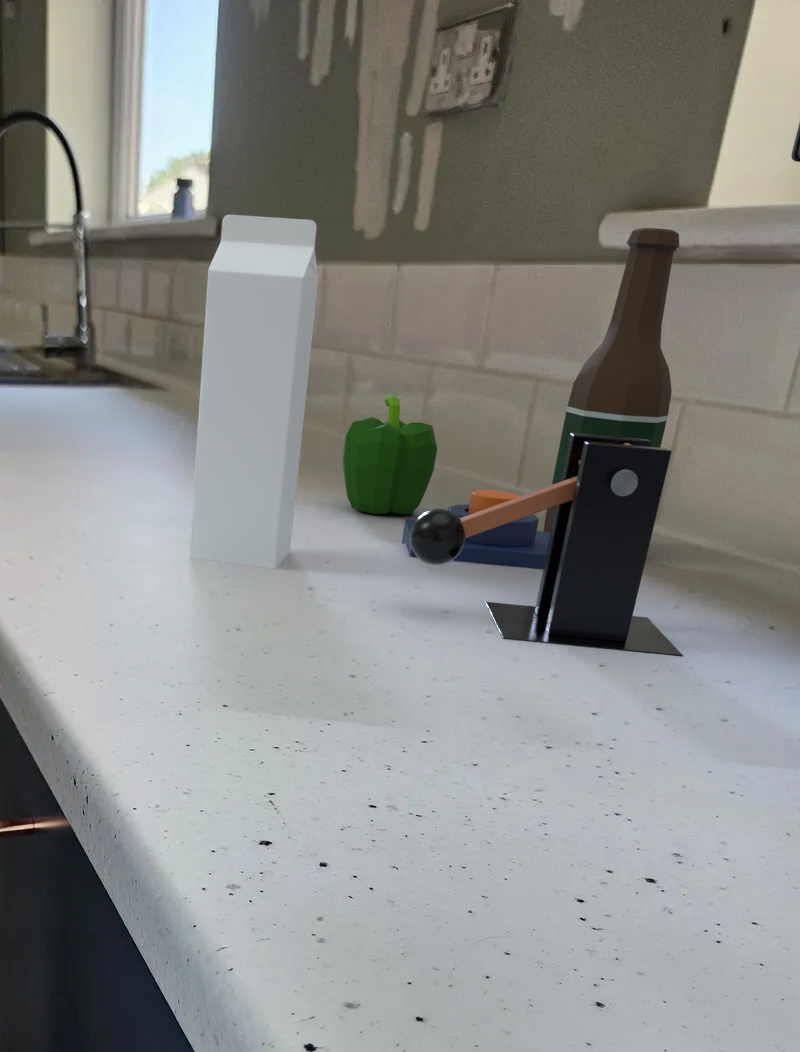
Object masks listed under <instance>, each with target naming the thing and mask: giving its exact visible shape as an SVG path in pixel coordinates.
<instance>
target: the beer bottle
mask: <svg viewBox="0 0 800 1052" xmlns="http://www.w3.org/2000/svg"><path fill="white" fill-rule="evenodd" d="M626 244H627V245H628V247H629V251H628V255H627V259H626V263H625V267H624V269H623V273H622V278H621V282H620V285H619V289H618V292H617V297H616V300H615V304H614V307H613V312H612V316H611V319H610V322H609V325H608V328H607V330H606V333H605V335H604V338H603V341H602V343H601V344H600V345H598V347H597V348H596V349H595V351H594V352H592V354H591V355H590V356H589V357H588V358H587V359H586V361H585V362H584V363H583V365H582V367H581V368H580V371H578V374H577V376H576V377H575V379H574V381H573V383H572V388H571V391H570V395H569V398H568V403H567V405H566V411H565V415H564V421H563V425H562V431H561V436H560V442H559V446H558V451H557V456H556V462H555V467H554V472H553V476H552V482H551V485H554V484H556V483H559V482H561V479H562V474H563V469H564V464H565V459H566V454H567V449H568V444H569V439H570V434H571V433H580V434H592V435H604V436H615V437H627V438H639V439H648V440H650V441H652V446H651V447H657V448H662V442H663V438H664V434H665V430H666V425H667V421H668V417H669V411H670V405H671V404H670V403H671V399H672V394H673V393H672V392H673V391H672V382H671V381H672V380H671V372H670V367H669V365H668V363H667V360H666V358H665V356H664V355H665V354H664V353H663V350H662V348H661V344H662V343H661V342H662V341H661V340H662V325H663V319H664V314H665V313H664V312H665V306H666V302H667V294H668V289H669V282H670V276H671V269H672V264H673V258H674V253H675V251H676V250H677V249H679V248H680V233H678V232H677V231H675V230H673V229H669V228H659V227H654V228H653V227H652V228H651V227H639V228H635V229H633V230H632V231H631V233H630V235H629V237H628V239H627V241H626ZM555 509H556V506H554V507H551V508H549V509H546V511H545V518H544V524H543V525H544V526H543V531H545V532H551V529H552V524H553V519H554V514H555Z"/></svg>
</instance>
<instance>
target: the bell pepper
mask: <svg viewBox="0 0 800 1052" xmlns="http://www.w3.org/2000/svg"><path fill="white" fill-rule="evenodd" d="M384 404H385V406H386V407H388V420H387V421H383V422H382V421H381V420H380V419H379V418H376V417H374V416H365V417H363V418H361V419H359V420H355V421H352V422H351V425H350V426H349V429H348V430H347V432H346V434H345V436H344V438H343V447H342V457H341V458H342V460H341V461H342V469H343V479H344V485H345V493H346V497H347V500H348V502H349V504H350V507H351V508H352V509H354V510H357V511H359V512H362V513H366V514H371V515H377V516H379V515H388V514H389V515H393V516H394V515H395V516H406V515H411V514H413V513H414V512H415V511H416V510H417V509H418V508H419V507H420V505H421V503H422V500H423V498H424V495H425V494H426V491H427V489H428V487H429V484H430V482H431V481H430V480H431V478H432V476H433V473H434V471H435V465H436V459H437V453H438V444H437V440H436V436H435V431H434V427H433V425H432V424H428V423H425V422H422V421H420V422H409V423H405V422H404V421H402V420H400V416H401V415H400V413H401V412H400V411H401V404H400V399H399V398H398V396H396V395H395V394H388V395H386V397H385V398H384Z"/></svg>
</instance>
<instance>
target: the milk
mask: <svg viewBox="0 0 800 1052" xmlns="http://www.w3.org/2000/svg"><path fill="white" fill-rule="evenodd" d="M317 227H318V226H317V223H316V222H315V220H313V219H302V218H301V219H300V218H289V217H274V216H273V217H272V216H256V215H241V214H226V215H224V216H223V218H222V221H221V235H220V242H219V245H218V247H217V249H216V252H215V254H214V256H213V257H212V259H211V262H210V265H209V268H208V270H207V281H206V282H207V285H206V297H205V311H204V312H205V314H204V327H203V328H204V329H203V341H202V343H203V344H202V357H201V358H202V360H201V373H200V387H199V388H200V389H199V404H198V419H197V431H196V432H197V433H196V434H197V435H196V447H195V450H196V451H195V463H194V476H193V477H194V478H193V479H194V480H193V492H192V493H193V494H192V507H191V522H190V523H191V526H190V538H189V539H190V540H189V554H188V558H189V559H191V560H200V561H207V562H215V563H223V564H233V565H240V566H245V567H256V568H263V569H269V570H275V569H277V568H278V566H279V565H280V564H281V563H282V562H283V561H284V559H285V558H286V557H287V556H288V555H289V554H290V552H291V544H292V535H293V526H294V516H295V506H296V496H297V487H298V477H299V468H300V458H301V449H302V438H303V429H304V422H305V421H304V420H305V411H306V400H307V392H308V391H307V390H308V382H309V381H308V380H309V371H310V363H311V353H312V352H311V351H312V343H313V334H314V324H315V314H316V303H317V296H318V286H319V272H318V265H317V264H318V263H317V257H316V256H317V255H316V249H315V248H316V247H315V246H316V239H317V238H316V237H317Z"/></svg>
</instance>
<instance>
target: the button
mask: <svg viewBox="0 0 800 1052" xmlns="http://www.w3.org/2000/svg"><path fill="white" fill-rule="evenodd" d="M520 496H521V495H519V494H517V493H514V492H513V493H512V492H508V491H503V490H494V489H474V490H472V491H471V494H470V499H469V504H470V505H469V511H468V513H470V514H473V513H476V512H479V511H482V510H484V509H487V508H490V507H493V506H495V505H498V504H501V503H504V502H507V501H509V500H512V499H515V498H518V497H520Z"/></svg>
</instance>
